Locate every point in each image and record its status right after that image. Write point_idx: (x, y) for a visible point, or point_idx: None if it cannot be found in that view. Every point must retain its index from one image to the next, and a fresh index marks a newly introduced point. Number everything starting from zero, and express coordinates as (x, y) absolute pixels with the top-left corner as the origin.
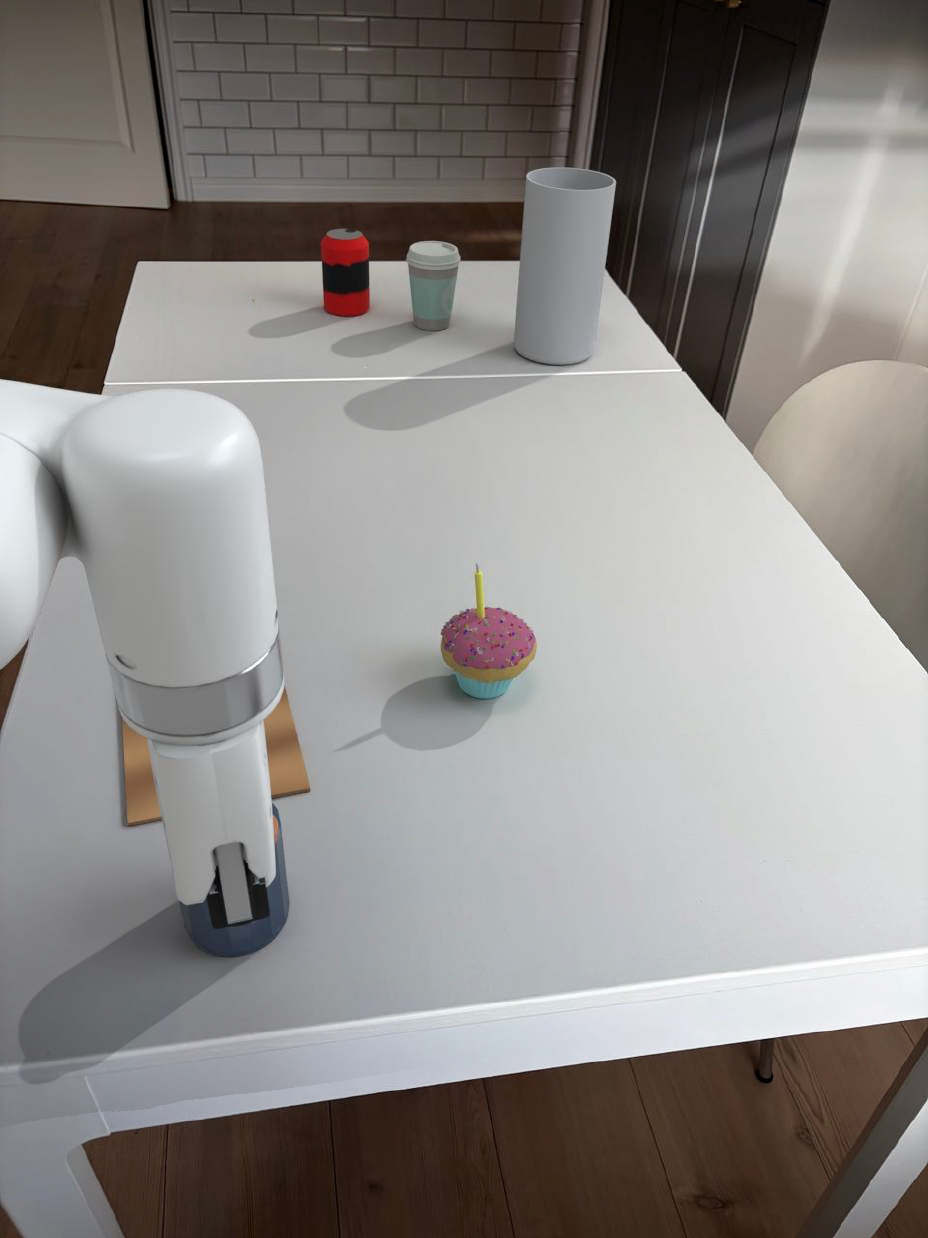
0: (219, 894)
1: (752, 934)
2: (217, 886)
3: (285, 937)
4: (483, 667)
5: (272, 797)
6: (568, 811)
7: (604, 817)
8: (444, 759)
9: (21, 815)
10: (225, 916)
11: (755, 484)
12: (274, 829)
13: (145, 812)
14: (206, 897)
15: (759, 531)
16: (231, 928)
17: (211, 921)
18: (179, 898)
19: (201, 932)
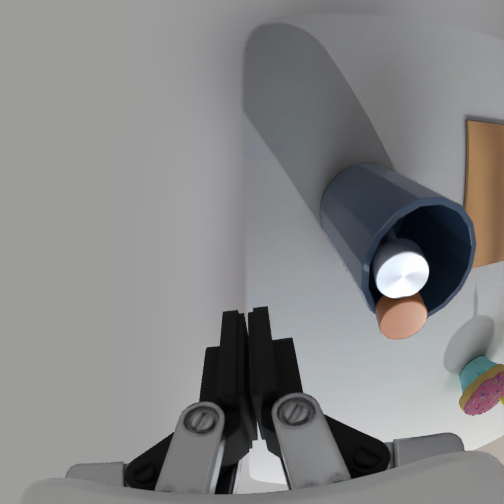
0: (132, 466)
1: (265, 454)
2: (133, 481)
3: (330, 249)
4: (472, 395)
5: None
6: (368, 408)
7: (356, 421)
8: (437, 352)
9: (480, 40)
10: (205, 362)
11: (485, 443)
12: (392, 337)
13: (474, 137)
14: (219, 365)
15: (466, 448)
16: (330, 224)
17: (223, 320)
18: (22, 496)
19: (339, 188)
